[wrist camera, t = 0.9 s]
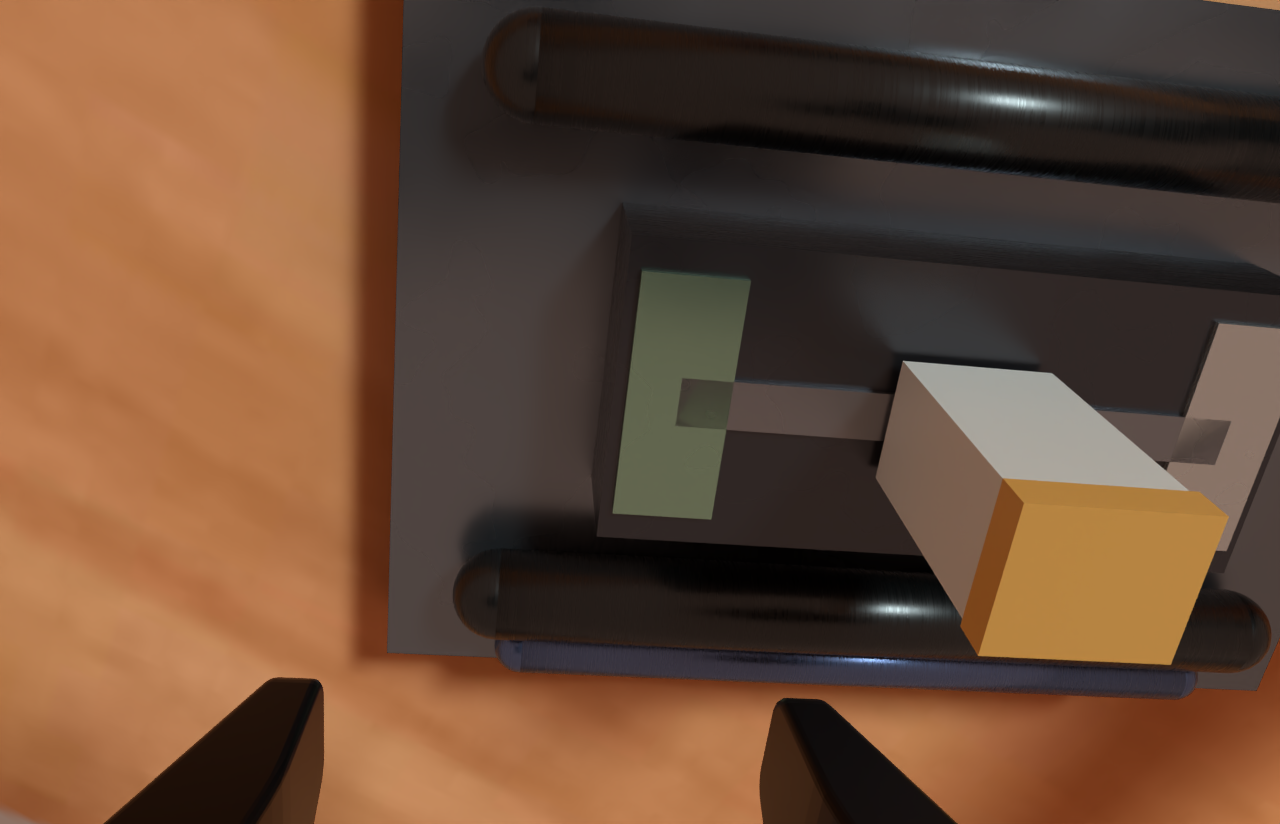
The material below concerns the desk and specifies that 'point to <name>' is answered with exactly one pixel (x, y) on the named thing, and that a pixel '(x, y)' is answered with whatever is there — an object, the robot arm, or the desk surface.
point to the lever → (1043, 517)
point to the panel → (554, 234)
